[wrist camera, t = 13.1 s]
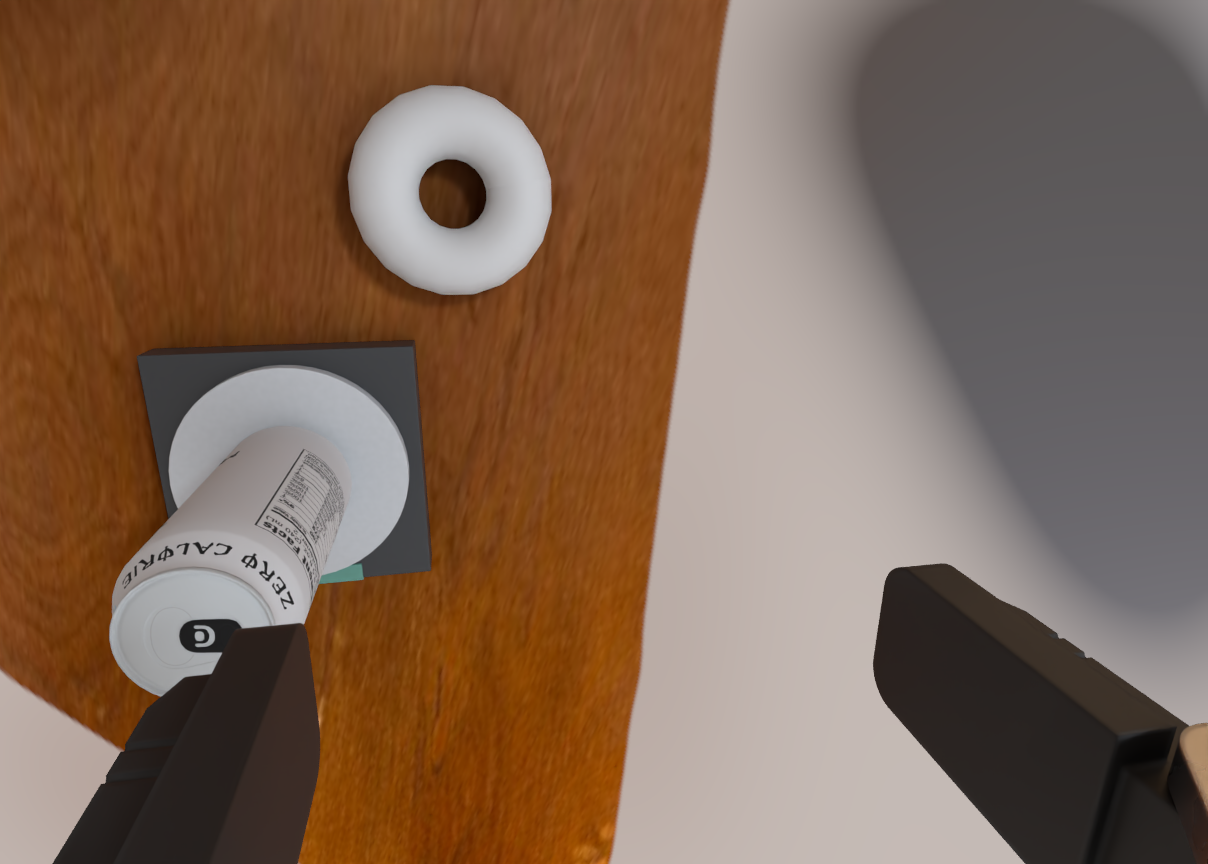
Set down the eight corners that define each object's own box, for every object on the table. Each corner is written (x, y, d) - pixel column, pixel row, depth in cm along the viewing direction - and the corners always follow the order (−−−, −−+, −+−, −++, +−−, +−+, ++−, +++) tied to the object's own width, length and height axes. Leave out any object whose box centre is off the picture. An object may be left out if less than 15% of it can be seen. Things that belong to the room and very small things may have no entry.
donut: (312, 148, 35) (419, 326, 38) (297, 139, 32) (415, 334, 35) (490, 55, 36) (580, 239, 39) (492, 37, 32) (591, 239, 36)
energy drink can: (227, 417, 35) (76, 551, 21) (354, 423, 36) (293, 552, 22) (232, 529, 37) (96, 722, 23) (354, 530, 38) (297, 713, 24)
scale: (152, 348, 36) (129, 358, 33) (414, 339, 39) (412, 348, 36) (195, 578, 40) (177, 603, 37) (431, 557, 42) (430, 579, 40)
